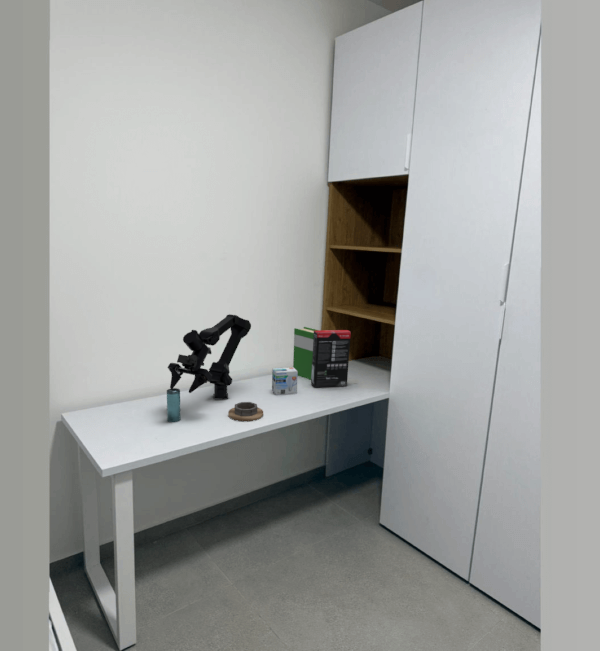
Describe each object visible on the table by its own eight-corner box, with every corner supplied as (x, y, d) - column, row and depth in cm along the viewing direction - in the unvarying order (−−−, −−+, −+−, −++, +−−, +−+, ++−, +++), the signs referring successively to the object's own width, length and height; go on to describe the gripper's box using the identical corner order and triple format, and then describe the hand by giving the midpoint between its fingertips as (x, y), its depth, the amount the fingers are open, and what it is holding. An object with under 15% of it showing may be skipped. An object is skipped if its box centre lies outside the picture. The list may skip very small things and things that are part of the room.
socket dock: (228, 409, 208) (228, 400, 207) (261, 408, 210) (261, 399, 209) (228, 422, 194) (228, 412, 194) (264, 420, 197) (264, 411, 196)
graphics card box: (343, 382, 248) (346, 328, 243) (348, 386, 242) (351, 331, 236) (310, 384, 244) (312, 329, 238) (314, 388, 237) (316, 332, 232)
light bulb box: (275, 395, 227) (275, 372, 224) (271, 390, 233) (271, 368, 231) (297, 393, 230) (298, 370, 228) (293, 388, 236) (293, 366, 234)
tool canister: (168, 417, 197) (167, 388, 195) (181, 417, 198) (180, 388, 195) (166, 422, 192) (166, 392, 190) (180, 422, 193) (179, 392, 191)
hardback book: (293, 373, 260) (294, 328, 255) (303, 371, 265) (305, 326, 260) (316, 382, 247) (318, 334, 243) (327, 379, 252) (329, 332, 248)
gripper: (170, 343, 202) (151, 376, 194) (207, 349, 194) (189, 384, 186) (183, 358, 210) (165, 390, 203) (219, 364, 202) (202, 398, 194)
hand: (180, 390), depth 196 cm, fingers open, 9 cm apart
